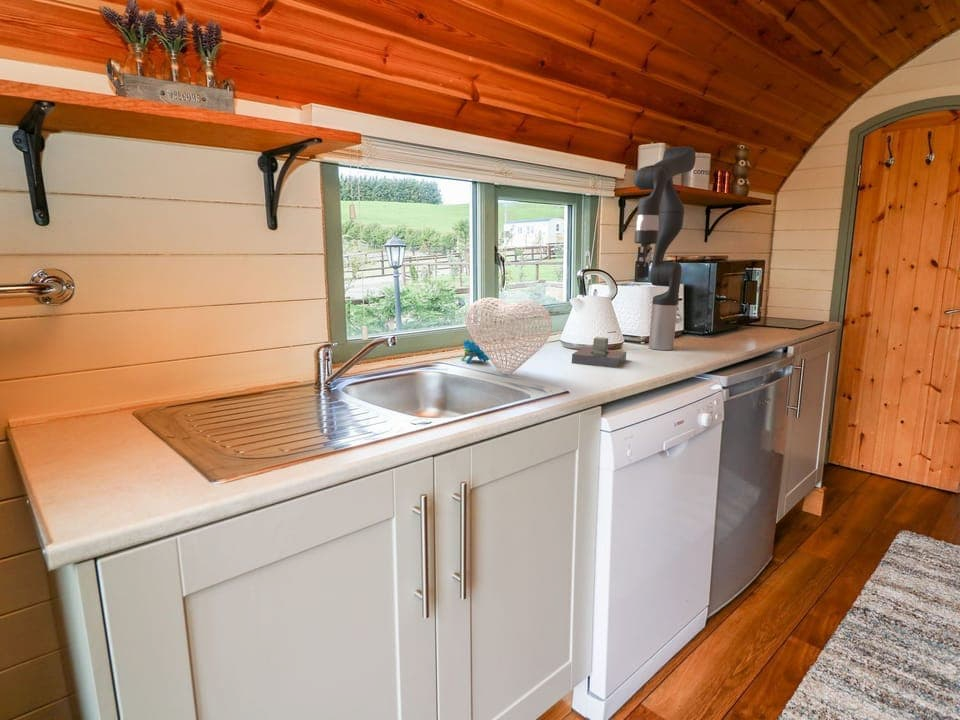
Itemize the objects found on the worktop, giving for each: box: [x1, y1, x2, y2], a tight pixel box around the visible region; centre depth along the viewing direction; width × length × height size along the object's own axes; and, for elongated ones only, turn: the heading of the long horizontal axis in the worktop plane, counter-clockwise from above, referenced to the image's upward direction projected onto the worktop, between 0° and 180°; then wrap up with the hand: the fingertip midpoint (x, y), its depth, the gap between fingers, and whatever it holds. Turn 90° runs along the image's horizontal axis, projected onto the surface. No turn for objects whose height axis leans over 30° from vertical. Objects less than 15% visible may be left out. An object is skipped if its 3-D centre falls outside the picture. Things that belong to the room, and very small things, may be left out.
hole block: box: [571, 347, 627, 369], centre depth 196 cm, size 15×15×3 cm
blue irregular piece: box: [461, 339, 490, 364], centre depth 189 cm, size 11×6×10 cm
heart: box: [465, 296, 553, 375], centre depth 171 cm, size 28×16×22 cm, turn 47°
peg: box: [592, 336, 609, 355], centre depth 196 cm, size 4×4×8 cm
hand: (642, 277), depth 200 cm, fingers open, 8 cm apart
